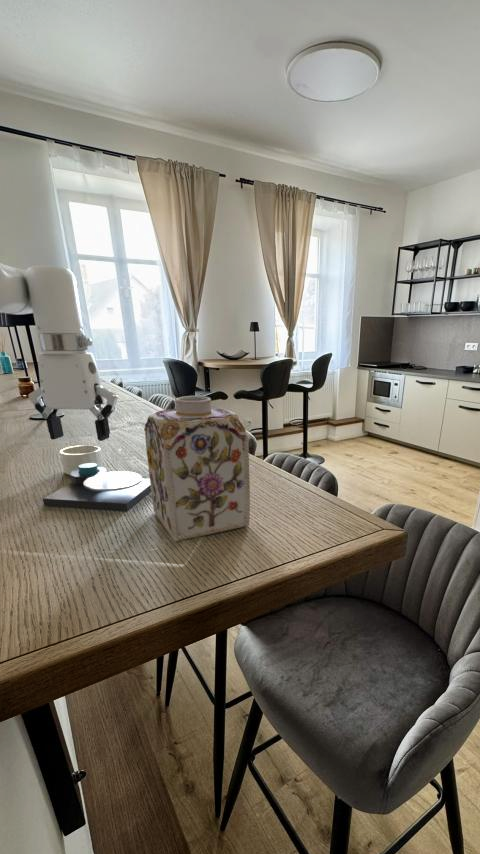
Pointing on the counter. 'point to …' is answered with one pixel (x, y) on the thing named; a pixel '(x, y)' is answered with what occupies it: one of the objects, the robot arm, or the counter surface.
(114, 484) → the scale pan
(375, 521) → the counter surface
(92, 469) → the tare button
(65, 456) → the bowl
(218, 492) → the decorative jar
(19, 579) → the counter surface
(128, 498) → the scale
